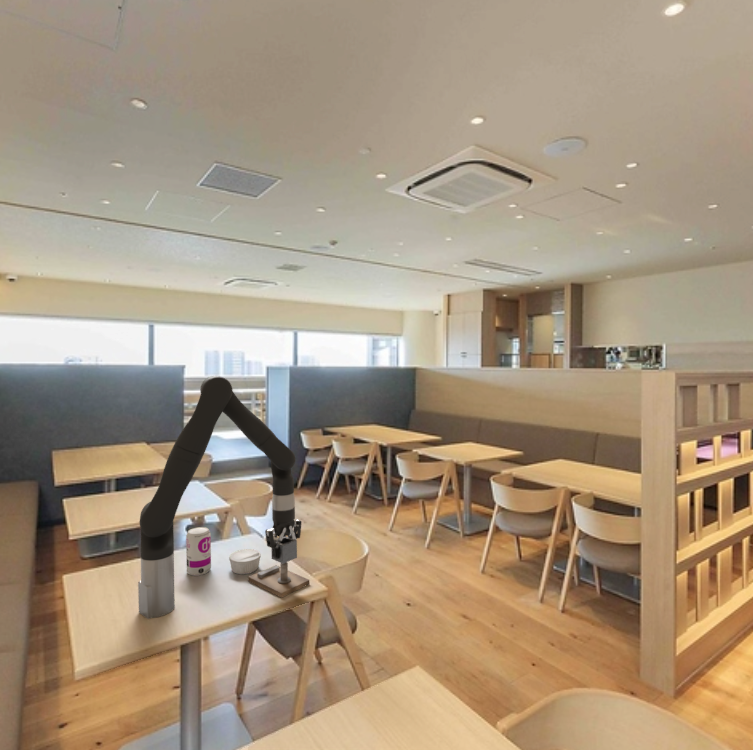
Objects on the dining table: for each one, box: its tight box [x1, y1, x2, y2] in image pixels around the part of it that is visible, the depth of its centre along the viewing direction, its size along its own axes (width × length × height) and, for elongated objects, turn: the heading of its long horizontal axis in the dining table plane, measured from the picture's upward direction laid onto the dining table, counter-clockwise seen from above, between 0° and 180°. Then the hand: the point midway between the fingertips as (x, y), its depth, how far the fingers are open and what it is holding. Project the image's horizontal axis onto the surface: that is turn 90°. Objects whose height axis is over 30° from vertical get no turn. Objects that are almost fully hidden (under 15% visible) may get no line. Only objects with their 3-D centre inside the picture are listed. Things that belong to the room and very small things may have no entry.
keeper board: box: [247, 562, 310, 599], centre depth 164 cm, size 12×18×8 cm, turn 50°
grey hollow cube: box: [271, 536, 298, 564], centre depth 162 cm, size 6×6×6 cm
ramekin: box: [228, 548, 261, 575], centre depth 175 cm, size 11×11×5 cm
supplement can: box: [185, 526, 212, 577], centre depth 172 cm, size 8×8×15 cm
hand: (284, 554), depth 162 cm, fingers closed on grey hollow cube, 6 cm apart
